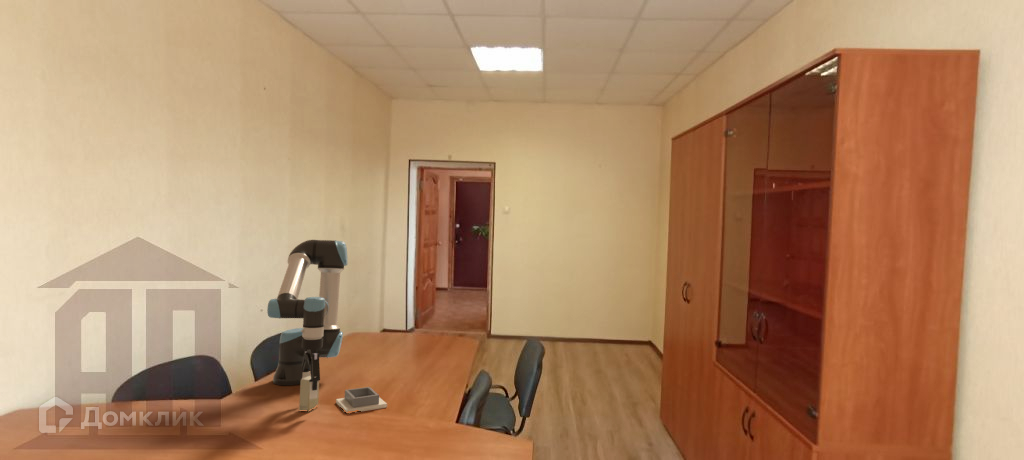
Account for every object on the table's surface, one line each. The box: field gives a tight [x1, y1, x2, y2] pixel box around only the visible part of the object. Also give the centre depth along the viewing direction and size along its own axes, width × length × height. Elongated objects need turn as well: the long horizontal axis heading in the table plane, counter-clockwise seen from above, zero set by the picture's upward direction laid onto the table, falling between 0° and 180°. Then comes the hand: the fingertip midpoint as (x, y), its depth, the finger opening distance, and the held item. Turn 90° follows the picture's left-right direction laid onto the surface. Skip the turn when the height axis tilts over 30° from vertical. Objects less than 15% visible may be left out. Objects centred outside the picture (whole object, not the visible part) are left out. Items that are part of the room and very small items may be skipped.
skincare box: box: [298, 374, 320, 411], centre depth 185 cm, size 6×4×12 cm
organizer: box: [335, 386, 388, 412], centre depth 192 cm, size 14×16×5 cm
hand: (309, 393), depth 184 cm, fingers open, 13 cm apart
